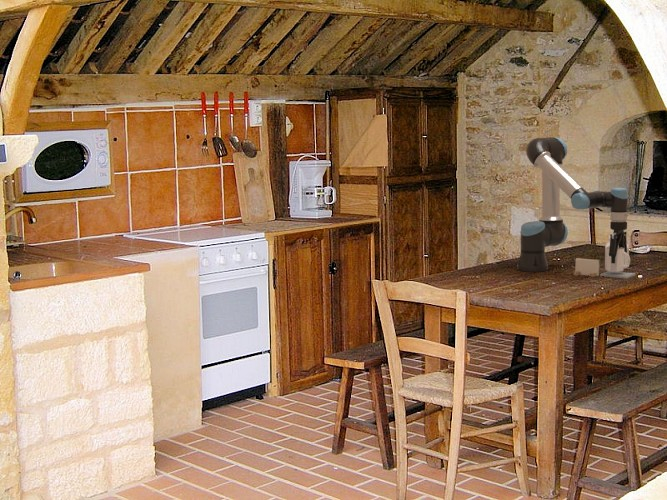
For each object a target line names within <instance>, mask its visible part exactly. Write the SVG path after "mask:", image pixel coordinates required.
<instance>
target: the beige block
mask: <svg viewBox="0 0 667 500" xmlns="http://www.w3.org/2000/svg"><path fill="white" fill-rule="evenodd" d="M588 275H589V277H591V278H595V277H600V259H591V258H579V257H577V258H575V271H574V272H573V276H575V277H577V276H588Z"/></svg>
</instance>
